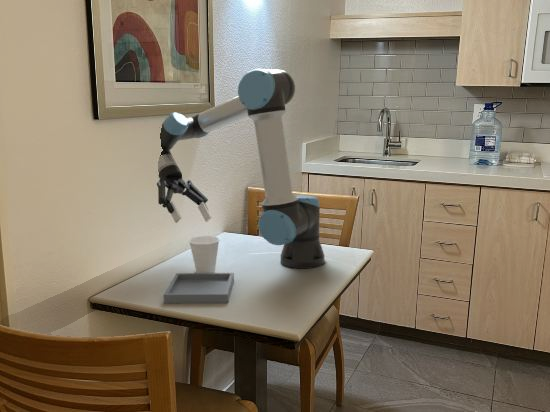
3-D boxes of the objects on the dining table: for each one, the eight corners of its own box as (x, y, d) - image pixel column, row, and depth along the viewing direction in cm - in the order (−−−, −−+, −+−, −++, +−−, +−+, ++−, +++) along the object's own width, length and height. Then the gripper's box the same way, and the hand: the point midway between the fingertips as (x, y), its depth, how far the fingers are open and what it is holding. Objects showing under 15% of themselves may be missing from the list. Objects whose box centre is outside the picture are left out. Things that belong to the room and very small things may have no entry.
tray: (233, 280, 171) (233, 272, 170) (227, 302, 153) (227, 294, 153) (176, 280, 171) (176, 273, 171) (164, 303, 154) (163, 294, 153)
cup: (215, 278, 173) (214, 244, 171) (186, 276, 175) (184, 243, 173) (224, 268, 183) (223, 236, 180) (196, 266, 185) (194, 235, 182)
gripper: (188, 179, 200) (214, 225, 192) (132, 176, 180) (158, 227, 172) (200, 165, 196) (226, 212, 188) (144, 161, 177) (170, 213, 169)
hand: (194, 219), depth 180 cm, fingers open, 13 cm apart
